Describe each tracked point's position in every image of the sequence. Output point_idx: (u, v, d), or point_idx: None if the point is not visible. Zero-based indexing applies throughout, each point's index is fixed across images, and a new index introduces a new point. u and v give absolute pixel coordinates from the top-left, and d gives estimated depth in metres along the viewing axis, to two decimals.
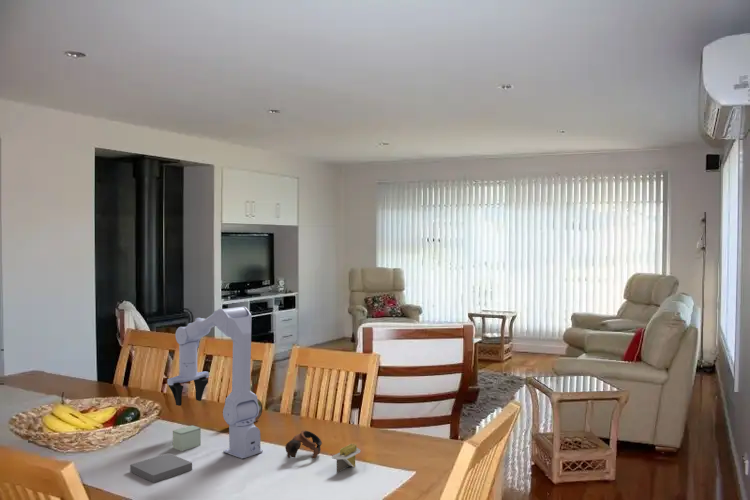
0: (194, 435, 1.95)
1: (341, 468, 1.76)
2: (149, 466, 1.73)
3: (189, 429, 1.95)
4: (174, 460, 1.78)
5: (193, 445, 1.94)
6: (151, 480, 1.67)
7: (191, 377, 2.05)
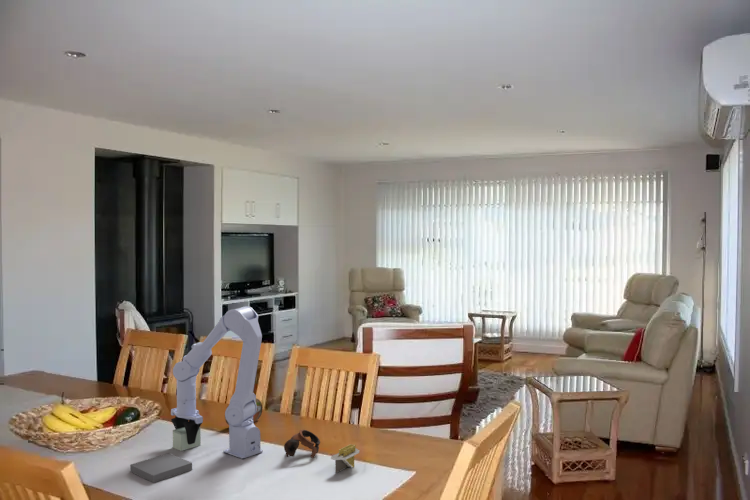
0: None
1: (340, 469, 1.75)
2: (149, 466, 1.73)
3: None
4: (174, 460, 1.78)
5: (193, 445, 1.94)
6: (151, 480, 1.67)
7: (177, 414, 1.93)
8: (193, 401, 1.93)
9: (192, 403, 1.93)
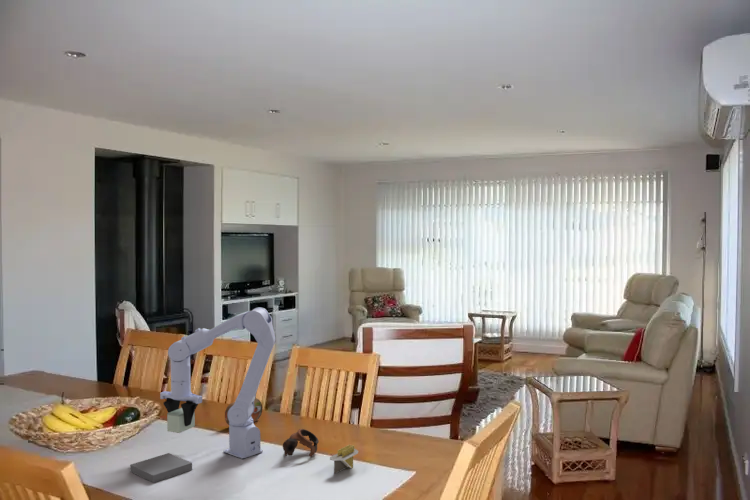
0: None
1: (339, 469, 1.75)
2: (149, 466, 1.73)
3: None
4: (174, 460, 1.78)
5: (189, 426, 1.90)
6: (151, 480, 1.67)
7: (172, 396, 1.88)
8: (189, 382, 1.90)
9: (188, 384, 1.89)
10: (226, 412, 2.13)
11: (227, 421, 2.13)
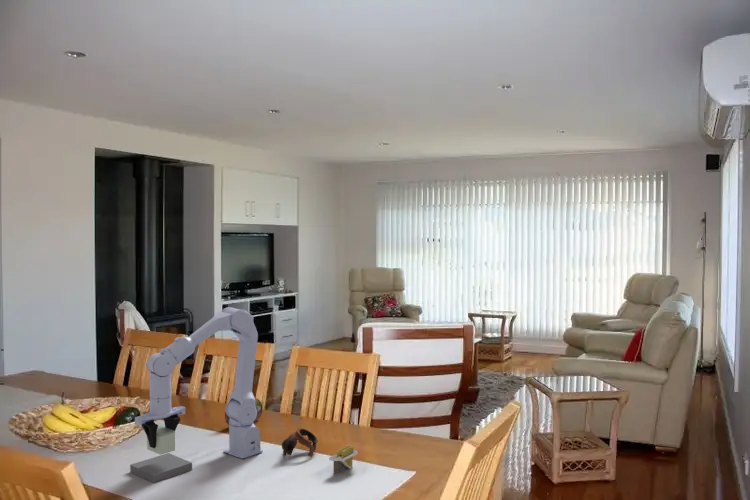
0: None
1: (338, 470, 1.74)
2: (149, 466, 1.73)
3: (162, 429, 1.76)
4: (174, 460, 1.78)
5: None
6: (151, 480, 1.67)
7: (163, 415, 1.72)
8: None
9: None
10: None
11: (227, 421, 2.13)
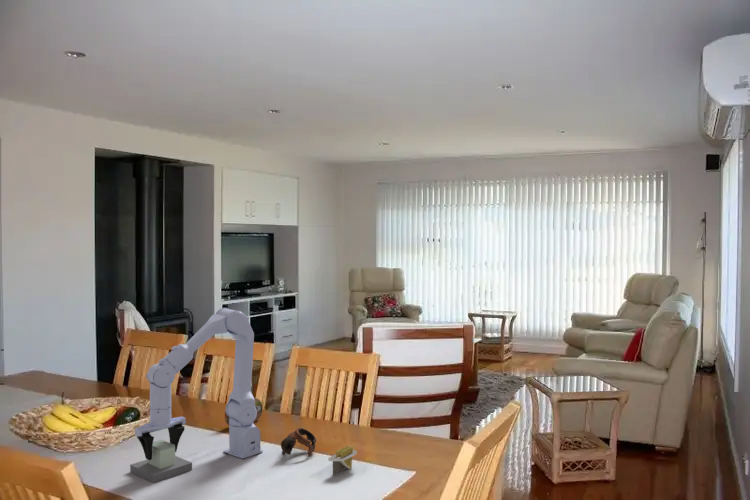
0: None
1: (337, 470, 1.74)
2: (149, 466, 1.73)
3: (162, 443, 1.76)
4: None
5: None
6: (151, 480, 1.67)
7: (164, 425, 1.72)
8: None
9: None
10: None
11: (227, 421, 2.13)
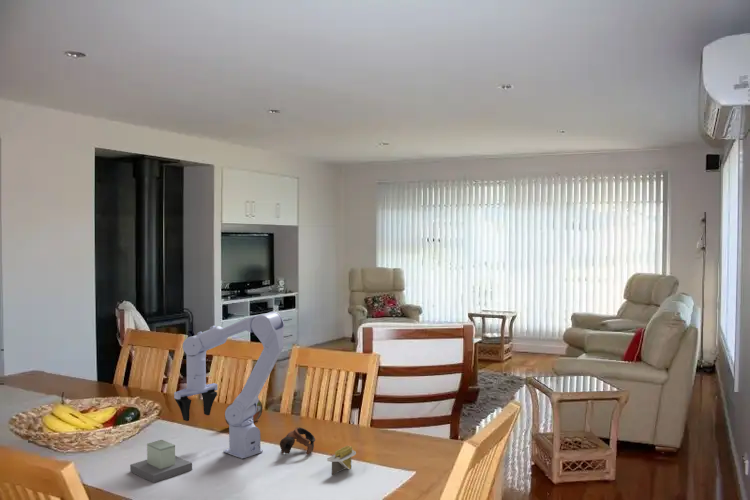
0: None
1: (336, 470, 1.74)
2: (149, 466, 1.73)
3: (162, 443, 1.76)
4: None
5: None
6: (151, 480, 1.67)
7: (199, 390, 1.91)
8: None
9: None
10: None
11: None
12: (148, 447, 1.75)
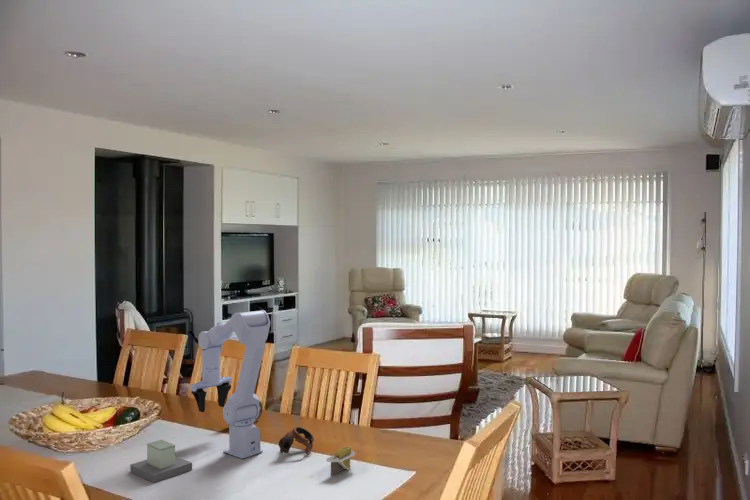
0: None
1: (335, 471, 1.74)
2: (149, 466, 1.73)
3: (162, 443, 1.76)
4: None
5: None
6: (151, 480, 1.67)
7: (214, 383, 2.00)
8: None
9: None
10: None
11: None
12: (148, 447, 1.75)
